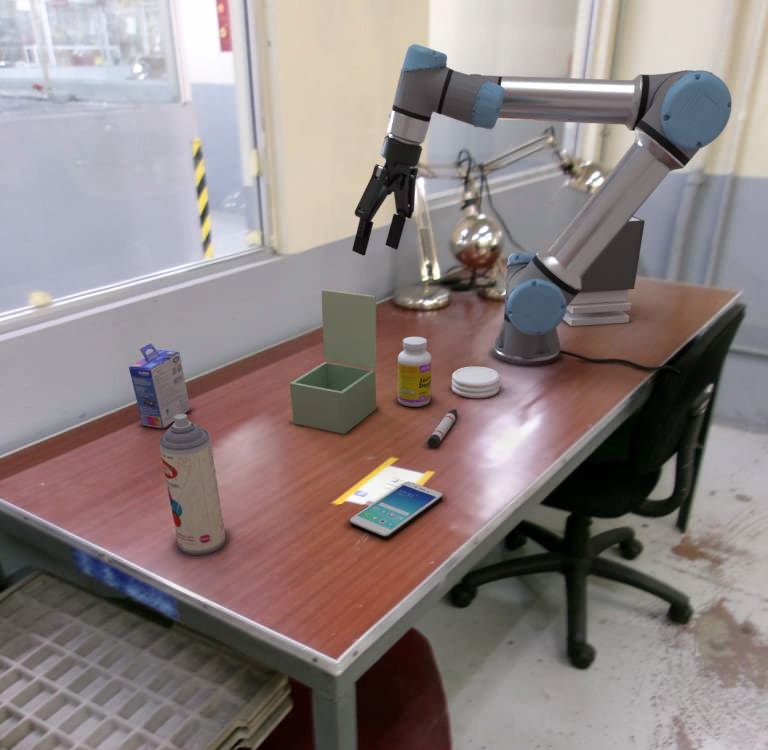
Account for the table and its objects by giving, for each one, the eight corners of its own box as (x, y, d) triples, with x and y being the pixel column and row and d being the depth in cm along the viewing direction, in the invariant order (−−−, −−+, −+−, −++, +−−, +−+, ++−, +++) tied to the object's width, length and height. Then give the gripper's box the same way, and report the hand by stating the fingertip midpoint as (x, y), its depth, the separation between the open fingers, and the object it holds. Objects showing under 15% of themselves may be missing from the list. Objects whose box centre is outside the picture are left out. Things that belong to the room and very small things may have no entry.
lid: (373, 296, 138) (376, 295, 138) (321, 290, 142) (323, 289, 143) (374, 368, 144) (376, 367, 145) (324, 359, 149) (326, 358, 150)
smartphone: (347, 519, 112) (406, 480, 122) (347, 524, 112) (406, 484, 122) (386, 535, 108) (444, 493, 118) (386, 540, 109) (444, 498, 118)
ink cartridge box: (168, 406, 152) (155, 337, 144) (191, 409, 150) (180, 339, 143) (139, 426, 144) (124, 354, 137) (164, 429, 143) (150, 356, 135)
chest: (344, 434, 140) (342, 393, 135) (293, 423, 144) (289, 383, 140) (376, 408, 149) (375, 369, 145) (327, 399, 154) (325, 361, 149)
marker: (437, 448, 134) (438, 438, 133) (427, 447, 134) (427, 437, 133) (460, 415, 146) (460, 405, 145) (450, 414, 147) (451, 404, 145)
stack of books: (628, 322, 194) (644, 220, 181) (558, 327, 191) (569, 224, 178) (604, 305, 207) (617, 209, 194) (538, 309, 205) (547, 213, 192)
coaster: (466, 377, 163) (467, 362, 161) (507, 387, 158) (508, 371, 156) (442, 392, 156) (443, 376, 154) (484, 403, 151) (485, 386, 149)
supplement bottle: (420, 410, 148) (420, 348, 141) (391, 404, 151) (391, 342, 144) (436, 399, 153) (437, 338, 146) (408, 392, 156) (408, 332, 149)
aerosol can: (174, 535, 111) (150, 411, 100) (219, 525, 113) (200, 402, 103) (183, 559, 105) (158, 431, 95) (231, 548, 108) (212, 421, 97)
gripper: (417, 135, 153) (389, 238, 164) (354, 130, 133) (327, 248, 145) (448, 147, 151) (418, 251, 162) (389, 144, 131) (359, 262, 142)
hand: (375, 250), depth 153 cm, fingers open, 13 cm apart
